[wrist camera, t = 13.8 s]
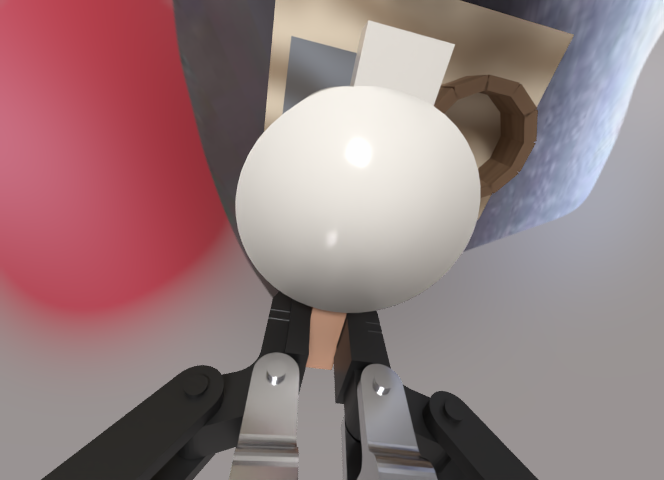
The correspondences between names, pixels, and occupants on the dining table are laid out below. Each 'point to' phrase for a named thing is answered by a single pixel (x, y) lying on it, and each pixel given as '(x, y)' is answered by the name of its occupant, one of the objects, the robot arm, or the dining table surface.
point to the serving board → (460, 77)
